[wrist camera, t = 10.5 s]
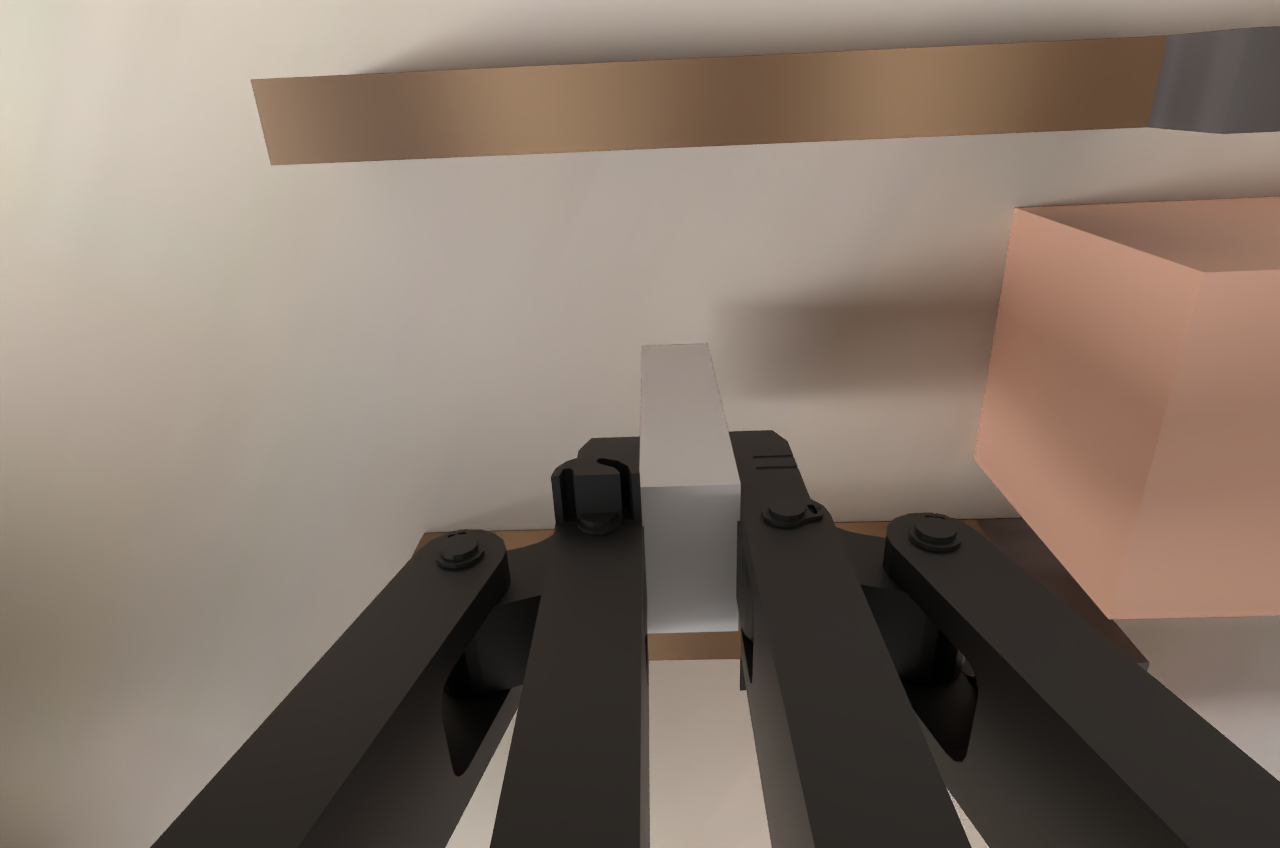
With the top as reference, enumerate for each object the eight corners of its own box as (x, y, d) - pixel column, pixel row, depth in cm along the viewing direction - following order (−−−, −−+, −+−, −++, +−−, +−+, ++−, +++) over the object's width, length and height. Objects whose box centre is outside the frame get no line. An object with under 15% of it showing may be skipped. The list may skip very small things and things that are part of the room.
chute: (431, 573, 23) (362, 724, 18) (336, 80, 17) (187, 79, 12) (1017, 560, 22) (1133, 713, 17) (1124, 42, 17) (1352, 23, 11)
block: (972, 458, 21) (1108, 619, 15) (1013, 207, 18) (1204, 272, 12) (1224, 451, 21) (1472, 611, 15) (1305, 194, 18) (1660, 254, 12)
